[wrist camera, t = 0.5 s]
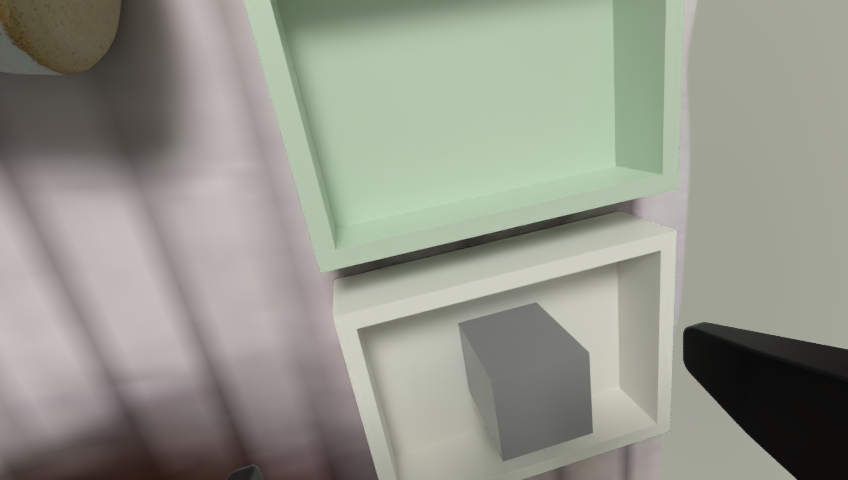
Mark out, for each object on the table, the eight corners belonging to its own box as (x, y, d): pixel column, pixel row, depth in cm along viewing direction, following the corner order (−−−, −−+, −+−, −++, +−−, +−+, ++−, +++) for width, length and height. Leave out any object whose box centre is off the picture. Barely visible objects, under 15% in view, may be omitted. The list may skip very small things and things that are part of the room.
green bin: (619, 175, 22) (677, 188, 18) (323, 242, 20) (320, 273, 16) (616, -91, 18) (689, -144, 14) (245, -44, 16) (217, -91, 12)
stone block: (542, 369, 24) (592, 432, 19) (469, 391, 23) (502, 461, 18) (536, 302, 22) (589, 352, 18) (457, 322, 22) (491, 380, 17)
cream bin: (622, 386, 26) (669, 431, 23) (382, 459, 24) (390, 522, 21) (620, 211, 23) (676, 230, 19) (333, 279, 20) (332, 317, 17)
